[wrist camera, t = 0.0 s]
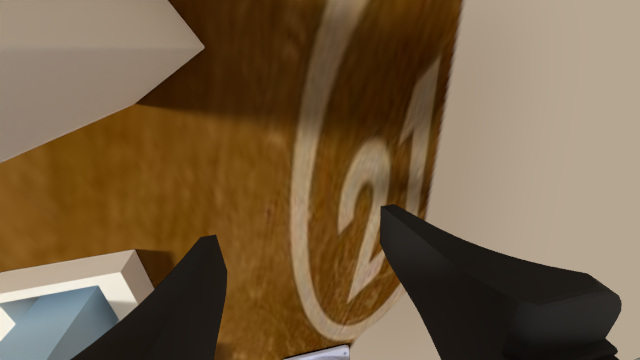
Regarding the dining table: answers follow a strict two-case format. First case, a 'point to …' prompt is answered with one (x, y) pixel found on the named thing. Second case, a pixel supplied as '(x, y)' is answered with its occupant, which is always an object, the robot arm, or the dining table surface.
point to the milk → (81, 63)
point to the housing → (75, 284)
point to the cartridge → (59, 326)
